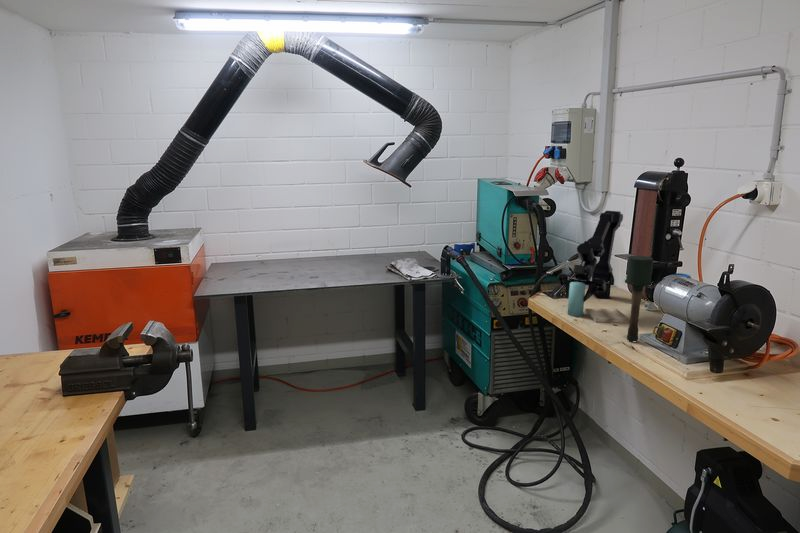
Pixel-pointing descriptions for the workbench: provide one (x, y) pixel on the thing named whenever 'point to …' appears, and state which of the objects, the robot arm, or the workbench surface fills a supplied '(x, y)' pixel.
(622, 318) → the board
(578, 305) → the canister
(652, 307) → the pneumatic valve
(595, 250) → the robot arm
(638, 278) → the stick grenade
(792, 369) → the workbench surface
